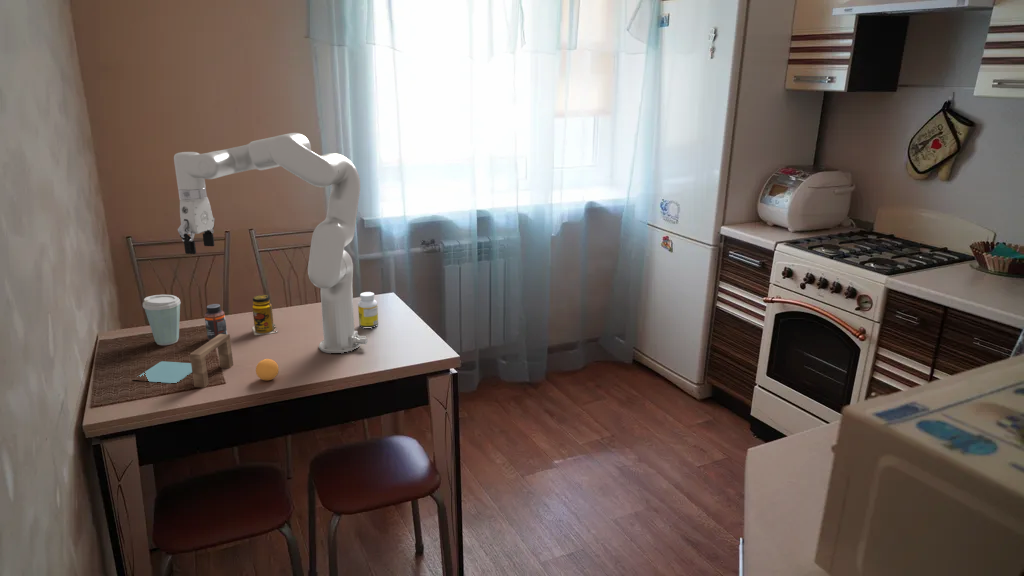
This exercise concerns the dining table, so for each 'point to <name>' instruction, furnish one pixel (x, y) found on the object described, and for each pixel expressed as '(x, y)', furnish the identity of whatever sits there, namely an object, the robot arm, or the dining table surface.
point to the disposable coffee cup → (163, 317)
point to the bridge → (199, 355)
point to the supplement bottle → (215, 321)
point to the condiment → (262, 315)
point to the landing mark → (168, 372)
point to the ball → (267, 369)
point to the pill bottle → (368, 310)
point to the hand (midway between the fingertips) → (200, 249)
